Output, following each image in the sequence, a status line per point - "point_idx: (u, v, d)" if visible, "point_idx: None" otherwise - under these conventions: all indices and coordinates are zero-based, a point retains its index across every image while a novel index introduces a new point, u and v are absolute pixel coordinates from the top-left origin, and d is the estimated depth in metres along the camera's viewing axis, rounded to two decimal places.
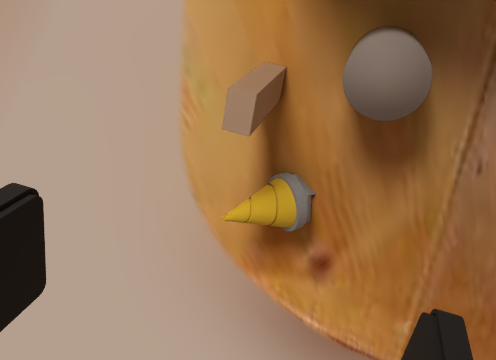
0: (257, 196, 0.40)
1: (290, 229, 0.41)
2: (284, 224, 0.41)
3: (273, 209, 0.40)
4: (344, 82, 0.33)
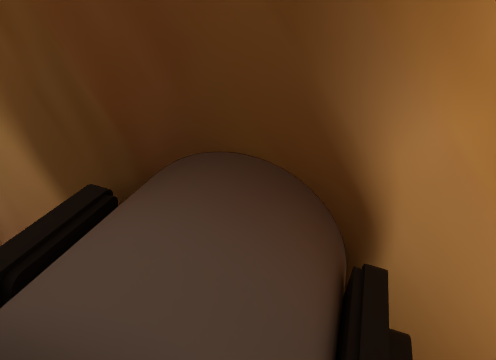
0: None
1: None
2: None
3: None
4: None
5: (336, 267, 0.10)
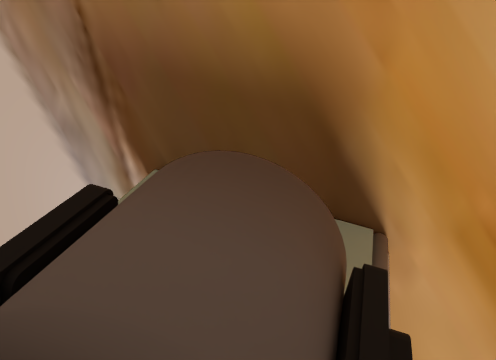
0: None
1: None
2: None
3: None
4: None
5: (336, 266, 0.10)
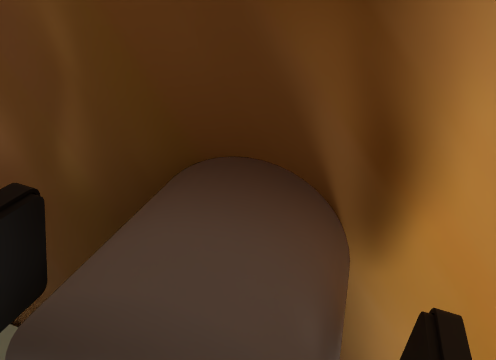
0: None
1: None
2: None
3: None
4: None
5: (341, 261, 0.11)
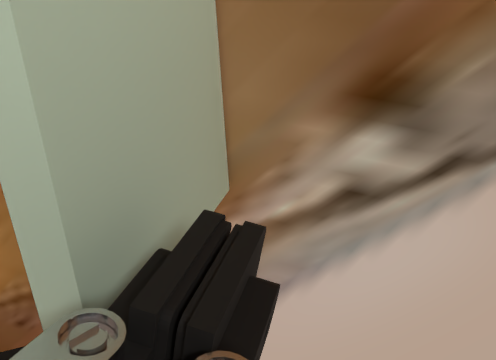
0: None
1: None
2: None
3: None
4: None
5: None
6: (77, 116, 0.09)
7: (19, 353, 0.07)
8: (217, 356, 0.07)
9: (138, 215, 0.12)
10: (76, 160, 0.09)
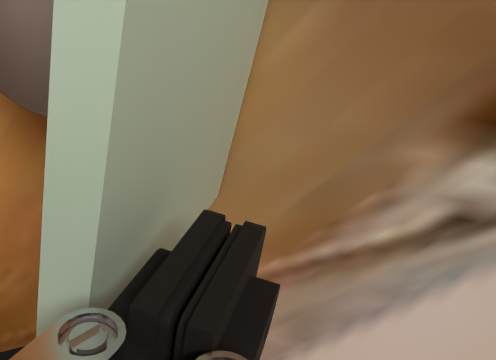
0: None
1: None
2: None
3: None
4: None
5: None
6: (135, 148, 0.09)
7: (18, 352, 0.07)
8: (217, 356, 0.07)
9: (149, 232, 0.12)
10: (122, 189, 0.09)
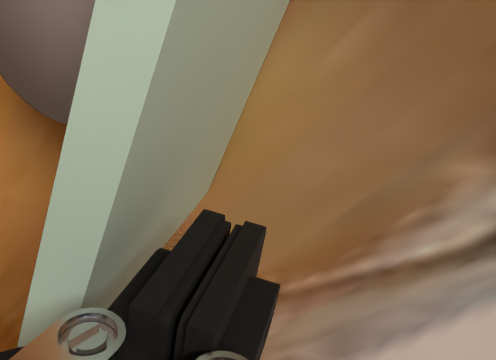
0: None
1: None
2: None
3: None
4: None
5: None
6: (149, 156, 0.09)
7: (18, 353, 0.07)
8: (217, 356, 0.07)
9: (145, 231, 0.12)
10: (130, 195, 0.09)
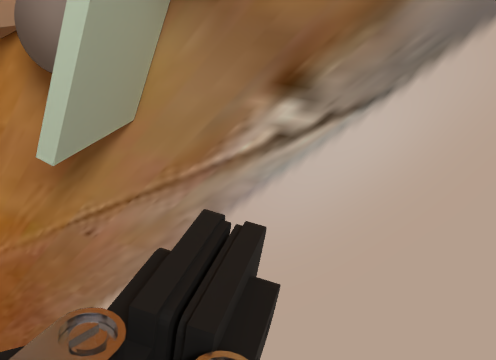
0: None
1: None
2: None
3: None
4: None
5: None
6: (83, 77, 0.26)
7: (17, 352, 0.07)
8: (217, 356, 0.07)
9: (88, 116, 0.29)
10: (77, 91, 0.26)
